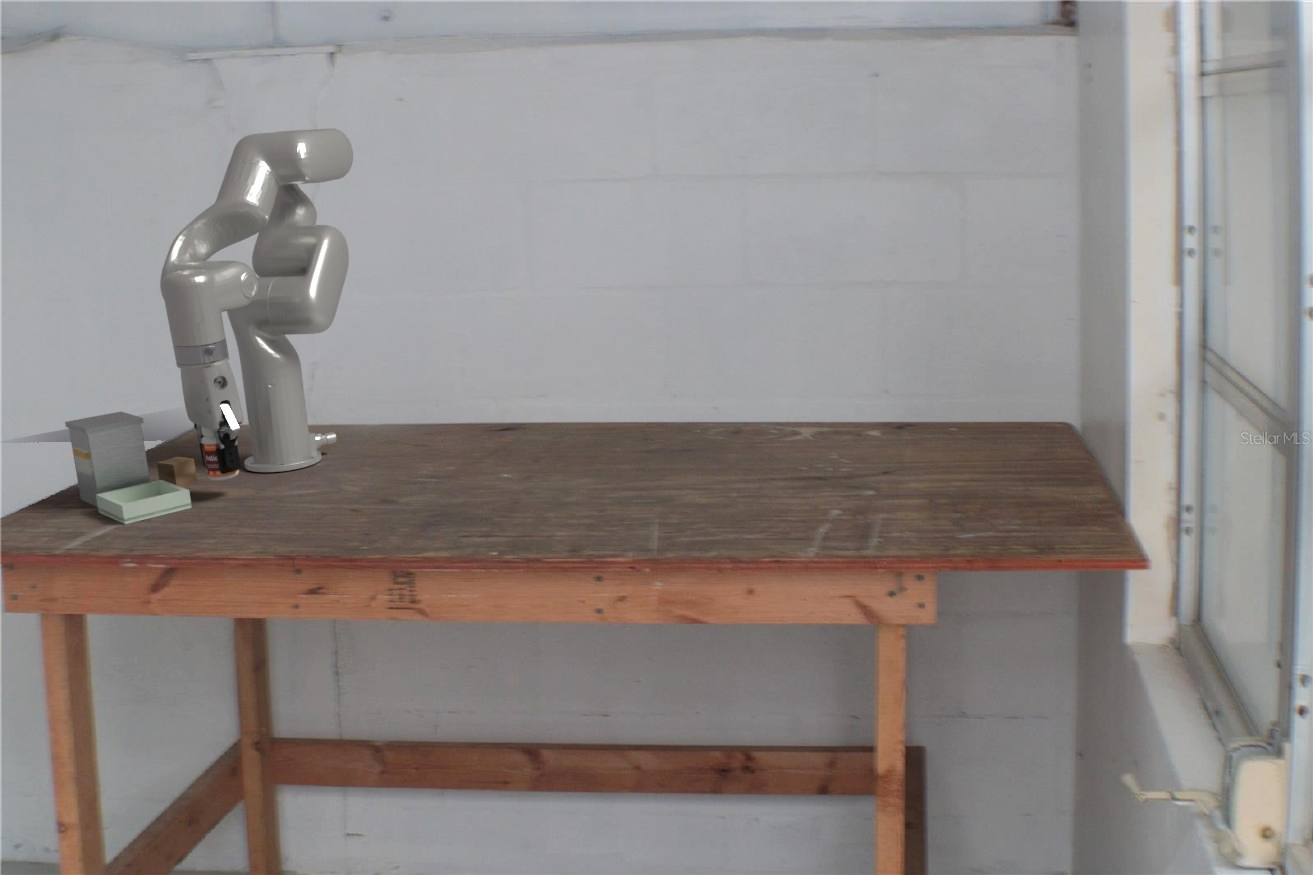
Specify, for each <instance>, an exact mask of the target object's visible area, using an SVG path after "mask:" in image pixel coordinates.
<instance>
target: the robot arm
mask: <svg viewBox="0 0 1313 875" xmlns="http://www.w3.org/2000/svg"><path fill="white" fill-rule="evenodd" d="M353 161H354V151H353V146H352V143H351V141H350V139H349V138H348V136H347V134H345V133H344V132H343V131H341V130H340V129H337V128H317V129H315V128H313V129H297V130H285V131H283V130H281V131H274V132H261V133H260V132H259V133H253V134H248V135H245V136H243V137H242V138H241V139H240V140H238V141H237V143H236V144H235V146H234V148H233V150H232V154H231V156H230V160H229V162H228V165H227V168H226V171H225V174H224V177H223V179H222V182H221V185H220V188H219V191H218V194H217V197H216V199H215V201H214V203H213V204H212V205H211V206H209V207H208V208H206V209H205V210H203V211H202V212H201V213H200V214H198V215H197V216H196V217H194V219H193V220H191V221H190V222H189V223H188V224H187V225H185V227H183V229H181V230H180V232H179V233H178V234H177V235H176V237H175V238H174V240H173V241H172V243H171V244H170V246H169V249H168V252H167V255H166V258H165V261H164V263H163V265H162V266H163V267H162V270H161V274H160V279H159V280H160V283H159V286H160V287H159V288H160V292H161V297H162V299H163V300H164V306H165V311H166V316H167V321H168V326H169V331H170V337H171V342H172V347H173V353H174V358H175V363H176V367H177V368H179V369H180V379H181V380H180V381H181V389H182V395H183V400H184V407H185V410H186V415H187V418H188V420H189V421H190V422H191V423H193V425H194V429H195V430H196V438H197V441H198V443H199V444H198V445H199V448H200V454H201V460H202V465H203V467H205V461H204V455H203V450H202V444H201V439H202V438H203V437H204V436H203V435H202V431H201V426H203V427H206V428H209V429H211V430H213V432H214V436H215V439H216V442H217V446H218V449H216V454H217V459H218V465H219V470H220V473H222V474H226V473H229V472H232V471H236V470H239V471H240V469H242V465H241V459H240V454H239V448H238V444H239V442H238V436H239V433H240V432H241V429H240V426H239V425H242V424H243V423H244V414H243V409H242V408H243V407H242V404H241V399H240V396H239V390H238V387H237V383H236V379H235V376H234V373H233V371H232V367H231V365H230V362H229V360H230V356H229V350H228V344H227V338H226V333H225V327H224V322H223V315H222V313H224V312H226V313H227V318H228V320H229V322H230V325H231V326H230V327H231V330H232V332H233V335H234V339H235V342H236V347H237V351H238V355H239V363H240V369H241V375H242V376H241V377H242V385H243V391H244V393H243V394H244V398H245V399H244V400H245V407H246V415H247V421H248V422H247V423H248V428H249V436H250V444H251V450H252V455H251V456H249V457H247V458H245V460H244V462H243V463H244V469H245V470H247V471H249V472H250V471H251V472H254V473H279V472H288V471H293V470H294V471H295V470H298V469H303V468H307V467H310V466H313V465H315V464H318V463H319V462H320V461H321V460H322V453H321V451H320V450H318V449H320V448H321V447H322V446H324V445H331V444H334V443H336V442H337V435H336V433H335V432H334V431H331V432H326V433H323V434H321V432H319V433H314V432H310V431H309V430H310V428H309V421H308V415H307V413H308V412H307V405H306V398H305V396H306V395H305V390H304V388H305V387H304V381H303V380H304V379H303V372H302V365H301V359H300V356H299V354H298V352H297V350H296V349H295V346H293V344H292V343H291V341H290V340H289V339H288V338H287V336H286V335H291V336H292V335H313V334H314V335H315V334H320V333H323V332H325V331H327V330H328V329H329V328H330V327H331V325H332V324H333V322H334V320H335V317H336V313H337V311H338V307H339V303H340V300H341V296H342V292H343V289H344V286H345V283H346V282H345V281H346V278H347V274H348V270H349V261H350V258H349V257H350V254H349V248H348V243H347V240H346V238H345V236H344V234H343V233H342V232H341V231H340V230H339V229H338V228H336V227H335V226H332V225H328V224H316V223H317V219H318V214H317V210H316V207H315V205H314V203H313V202H312V200H311V199H310V198H309V196H308V195H307V194H306V193H305V192H304V191H303V190H302V189H301V188H300V186H299V185H306V184H318V183H319V184H320V183H325V182H330V181H335V180H341V179H342V178H344V177H345V176H347V174H348V173H349V172H350V171H351V168H352V166H353ZM256 234H257V237H256V240H255V243H254V246H253V251H252V255H251V266H252V267H250V265H248V264H247V263H244V262H242V261H238V260H209V259H210V258H211V257H212V256H213V255H215V254H217V253H218V252H220V251H221V250H223V249H225V248H228V247H229V246H230V247H231V245H234V244H237V243H240V242H242V241H244V240H246V239H249V238H250V237H252V236H255V235H256ZM257 276H258V277H257ZM221 423H225V424H226V426H225V427H221V428H219V427H220V426H219V424H221ZM225 430H227V432H226V433H224V435H223V437H222V436H221V433H220V432H222V431H225Z"/></svg>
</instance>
